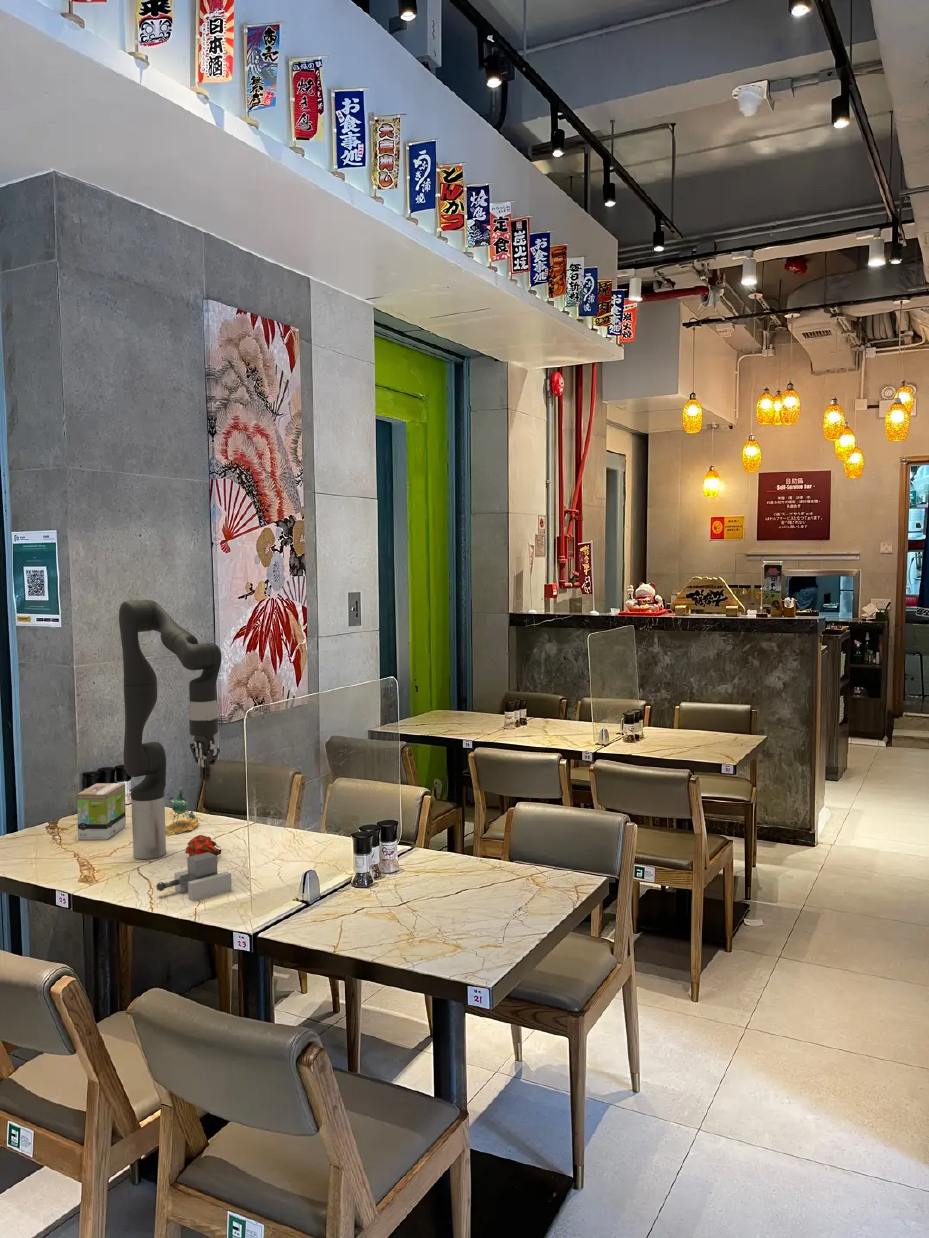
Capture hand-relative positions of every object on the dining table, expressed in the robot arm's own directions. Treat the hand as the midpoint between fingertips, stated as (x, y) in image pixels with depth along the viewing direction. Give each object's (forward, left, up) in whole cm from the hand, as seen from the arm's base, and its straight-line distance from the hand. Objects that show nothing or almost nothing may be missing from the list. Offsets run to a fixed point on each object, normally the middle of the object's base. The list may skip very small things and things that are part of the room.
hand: (205, 779), depth 256 cm
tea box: (-62, -4, -27) cm, 68 cm away
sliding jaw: (+8, -11, -26) cm, 29 cm away
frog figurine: (-48, +17, -27) cm, 58 cm away
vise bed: (+6, -8, -27) cm, 29 cm away
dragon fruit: (-12, +5, -27) cm, 30 cm away
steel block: (+12, -8, -26) cm, 30 cm away
